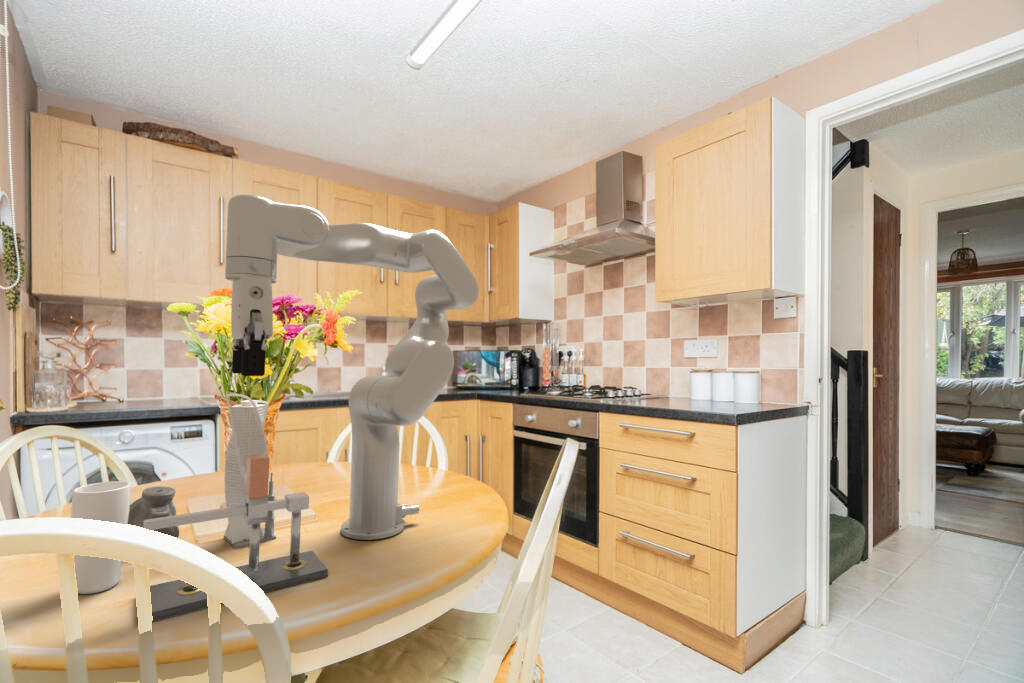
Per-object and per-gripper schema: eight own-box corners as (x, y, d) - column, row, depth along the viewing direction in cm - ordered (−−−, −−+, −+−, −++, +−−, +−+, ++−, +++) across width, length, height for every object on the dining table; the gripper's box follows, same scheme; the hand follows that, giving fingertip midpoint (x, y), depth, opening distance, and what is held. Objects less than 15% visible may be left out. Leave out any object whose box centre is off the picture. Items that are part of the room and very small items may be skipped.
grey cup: (137, 577, 75) (142, 481, 76) (101, 598, 69) (107, 493, 69) (93, 576, 75) (98, 480, 76) (53, 598, 68) (59, 492, 69)
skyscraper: (227, 550, 86) (234, 395, 87) (213, 538, 92) (219, 392, 93) (275, 538, 92) (281, 393, 93) (259, 527, 98) (265, 390, 99)
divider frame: (301, 559, 80) (304, 491, 81) (306, 566, 78) (309, 496, 78) (139, 596, 67) (143, 515, 68) (139, 605, 65) (143, 521, 65)
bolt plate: (311, 557, 84) (312, 549, 84) (327, 576, 77) (327, 567, 77) (139, 596, 70) (139, 586, 70) (139, 624, 62) (139, 614, 62)
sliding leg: (260, 564, 77) (264, 453, 77) (265, 572, 74) (269, 457, 75) (242, 568, 75) (246, 455, 76) (246, 577, 72) (251, 459, 73)
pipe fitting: (118, 538, 90) (128, 484, 90) (170, 531, 95) (179, 480, 95) (125, 566, 81) (136, 506, 81) (182, 557, 87) (191, 501, 87)
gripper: (288, 268, 75) (284, 376, 75) (265, 280, 89) (262, 372, 88) (233, 261, 71) (229, 377, 70) (218, 275, 84) (214, 372, 84)
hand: (247, 374), depth 79 cm, fingers open, 9 cm apart
